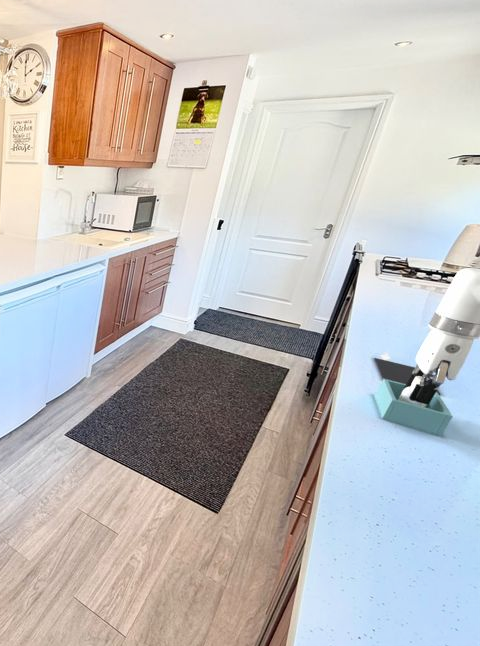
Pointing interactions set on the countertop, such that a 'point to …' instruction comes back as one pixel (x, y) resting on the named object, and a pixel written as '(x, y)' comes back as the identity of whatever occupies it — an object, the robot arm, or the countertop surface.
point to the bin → (411, 409)
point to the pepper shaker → (408, 391)
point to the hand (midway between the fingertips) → (415, 395)
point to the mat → (395, 371)
